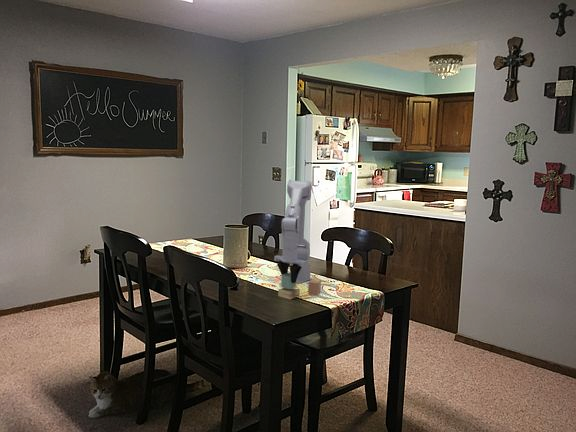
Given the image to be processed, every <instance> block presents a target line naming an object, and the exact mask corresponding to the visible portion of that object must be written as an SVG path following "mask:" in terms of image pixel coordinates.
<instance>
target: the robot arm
mask: <svg viewBox="0 0 576 432" xmlns="http://www.w3.org/2000/svg"><path fill="white" fill-rule="evenodd" d="M286 186H287V187H286V188H287V189H286V191H287V192H286V193H287V194H288V197H289V199H290V204H288V205H287V206H286V210H285V215H284V217H283V218H282V219H281V236H282V255H274V258H273V259H274V261H275V262H278V263H276V265H277V269H279V272H280V275H281V276H282V274H286V273H291V283H295V282H296V284H302V283H305V282H309V281H310V280H313V278H312V277H311V270H312V269H311V267H312V266H311V262H310V260H309V259H310V255H311V248H310V246H311V245H310V242H309V241H308V240H307V239H306V238H304V237H305V217H306V216H305V214H306V203H307V201H310V200H311V197H312V182H311V181H310V180H308V181H307V180H288V181H287V185H286Z"/></svg>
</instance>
